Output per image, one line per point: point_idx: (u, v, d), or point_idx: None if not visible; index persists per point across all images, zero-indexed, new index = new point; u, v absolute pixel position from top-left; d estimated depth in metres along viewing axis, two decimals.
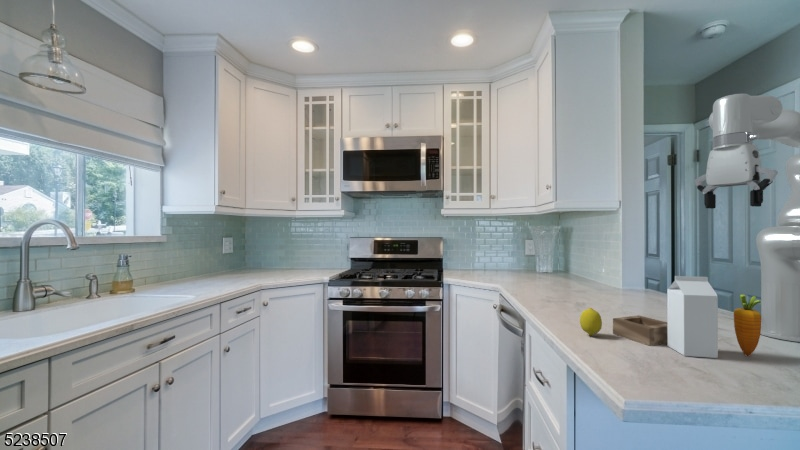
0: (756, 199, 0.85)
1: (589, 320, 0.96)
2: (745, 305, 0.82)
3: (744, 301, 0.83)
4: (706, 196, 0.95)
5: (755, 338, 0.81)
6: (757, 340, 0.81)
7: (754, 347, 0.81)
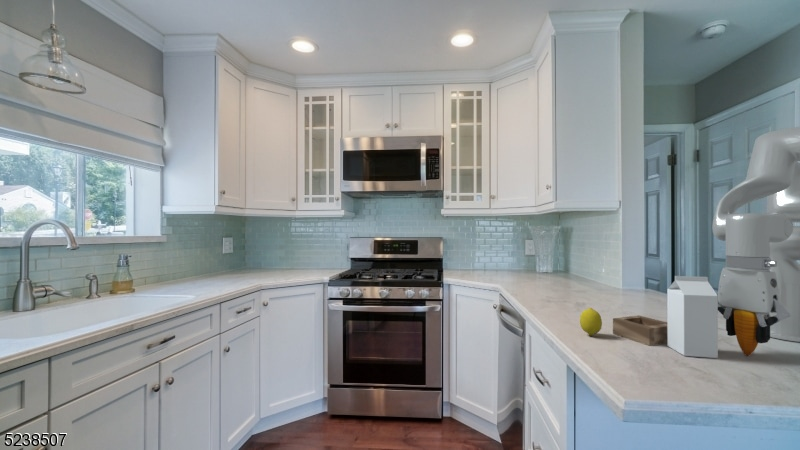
0: (763, 336, 0.79)
1: (589, 320, 0.96)
2: None
3: None
4: (728, 322, 0.85)
5: (755, 338, 0.81)
6: None
7: (754, 347, 0.81)
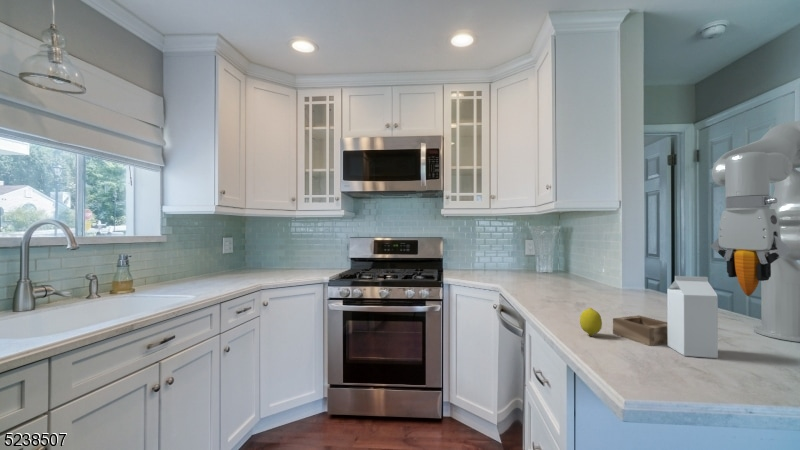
0: (763, 273, 0.80)
1: (589, 320, 0.96)
2: None
3: None
4: (729, 264, 0.85)
5: (755, 276, 0.81)
6: None
7: (755, 285, 0.82)
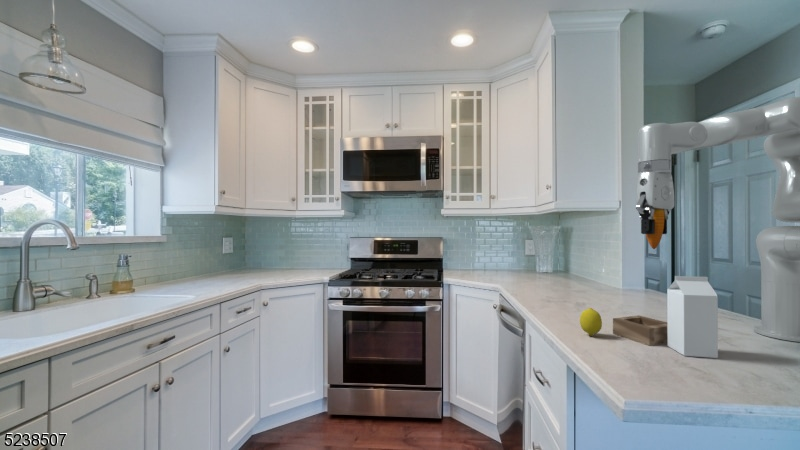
0: None
1: (589, 320, 0.96)
2: None
3: None
4: None
5: None
6: None
7: (649, 239, 0.95)
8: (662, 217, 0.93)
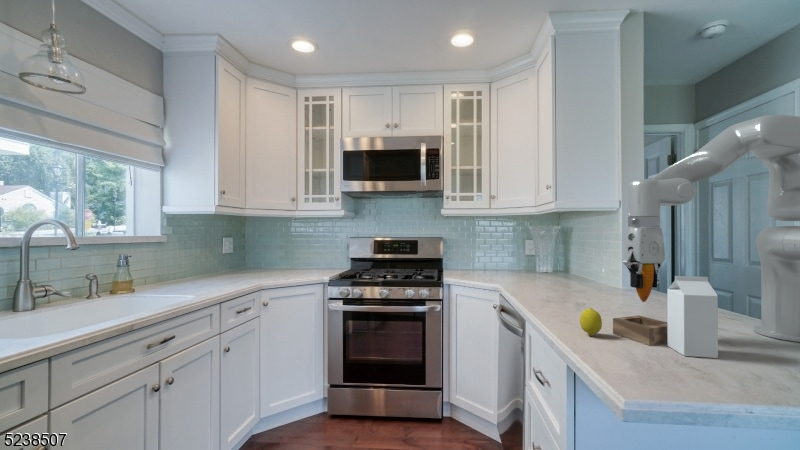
0: None
1: (589, 320, 0.96)
2: None
3: None
4: None
5: None
6: None
7: (639, 292, 0.96)
8: (651, 272, 0.94)
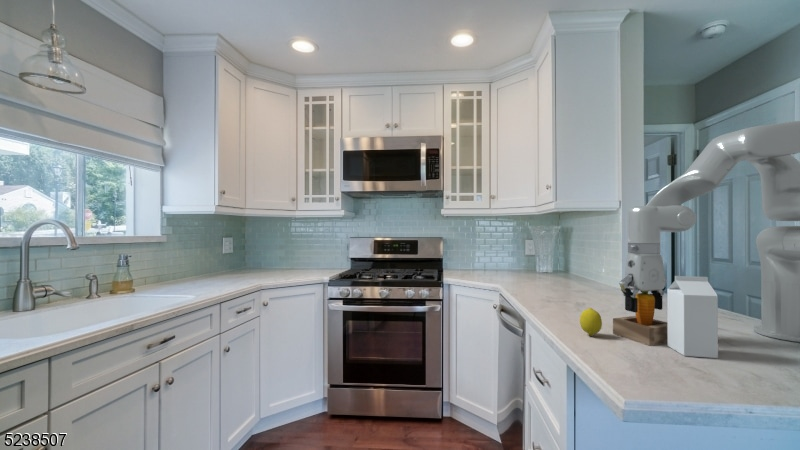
0: None
1: (589, 320, 0.96)
2: None
3: None
4: None
5: (637, 316, 0.97)
6: (639, 318, 0.96)
7: None
8: (652, 304, 0.94)
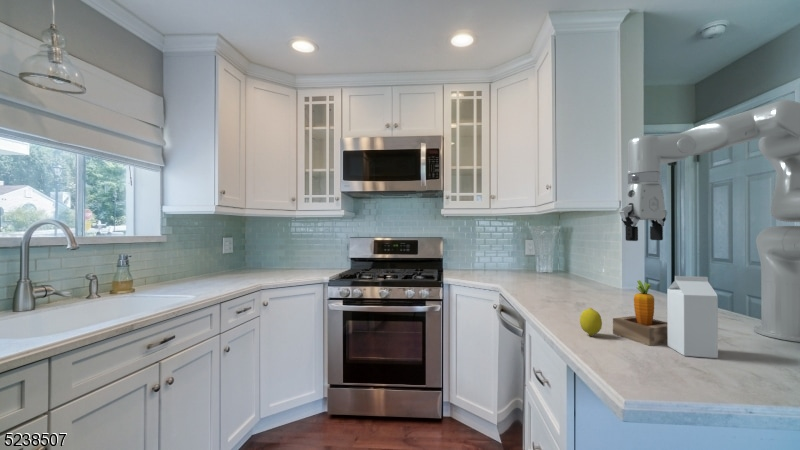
0: None
1: (589, 320, 0.96)
2: (638, 289, 0.98)
3: (640, 286, 0.98)
4: None
5: (637, 316, 0.97)
6: (639, 318, 0.96)
7: None
8: (651, 304, 0.95)
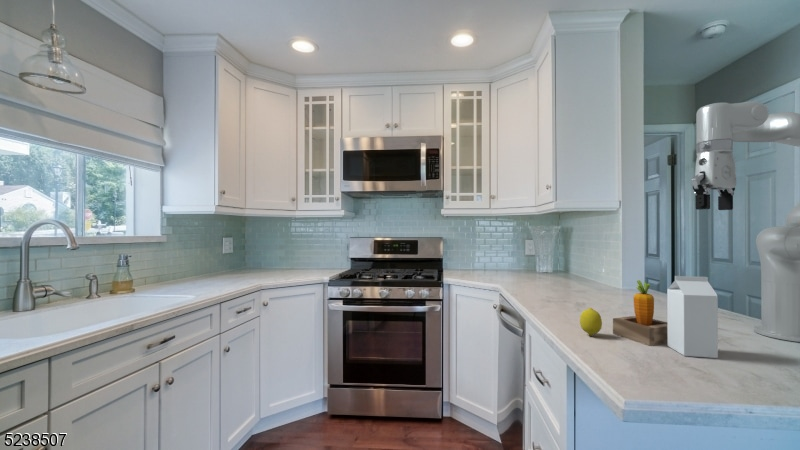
0: None
1: (589, 320, 0.96)
2: None
3: (640, 286, 0.98)
4: None
5: (636, 316, 0.97)
6: (639, 318, 0.96)
7: None
8: (651, 304, 0.95)
